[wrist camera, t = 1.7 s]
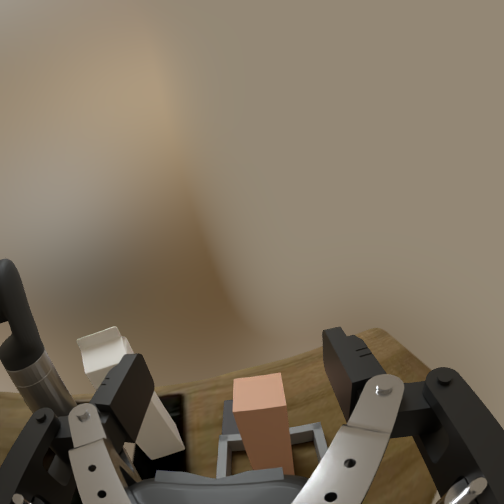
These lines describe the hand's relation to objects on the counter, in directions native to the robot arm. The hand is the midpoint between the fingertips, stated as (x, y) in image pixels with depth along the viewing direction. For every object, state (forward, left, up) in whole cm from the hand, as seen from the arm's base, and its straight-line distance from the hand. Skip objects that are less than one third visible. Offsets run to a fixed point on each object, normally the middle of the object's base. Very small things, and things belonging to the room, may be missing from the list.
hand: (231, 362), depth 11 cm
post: (0, +11, -28) cm, 30 cm away
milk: (-17, +16, -28) cm, 37 cm away
